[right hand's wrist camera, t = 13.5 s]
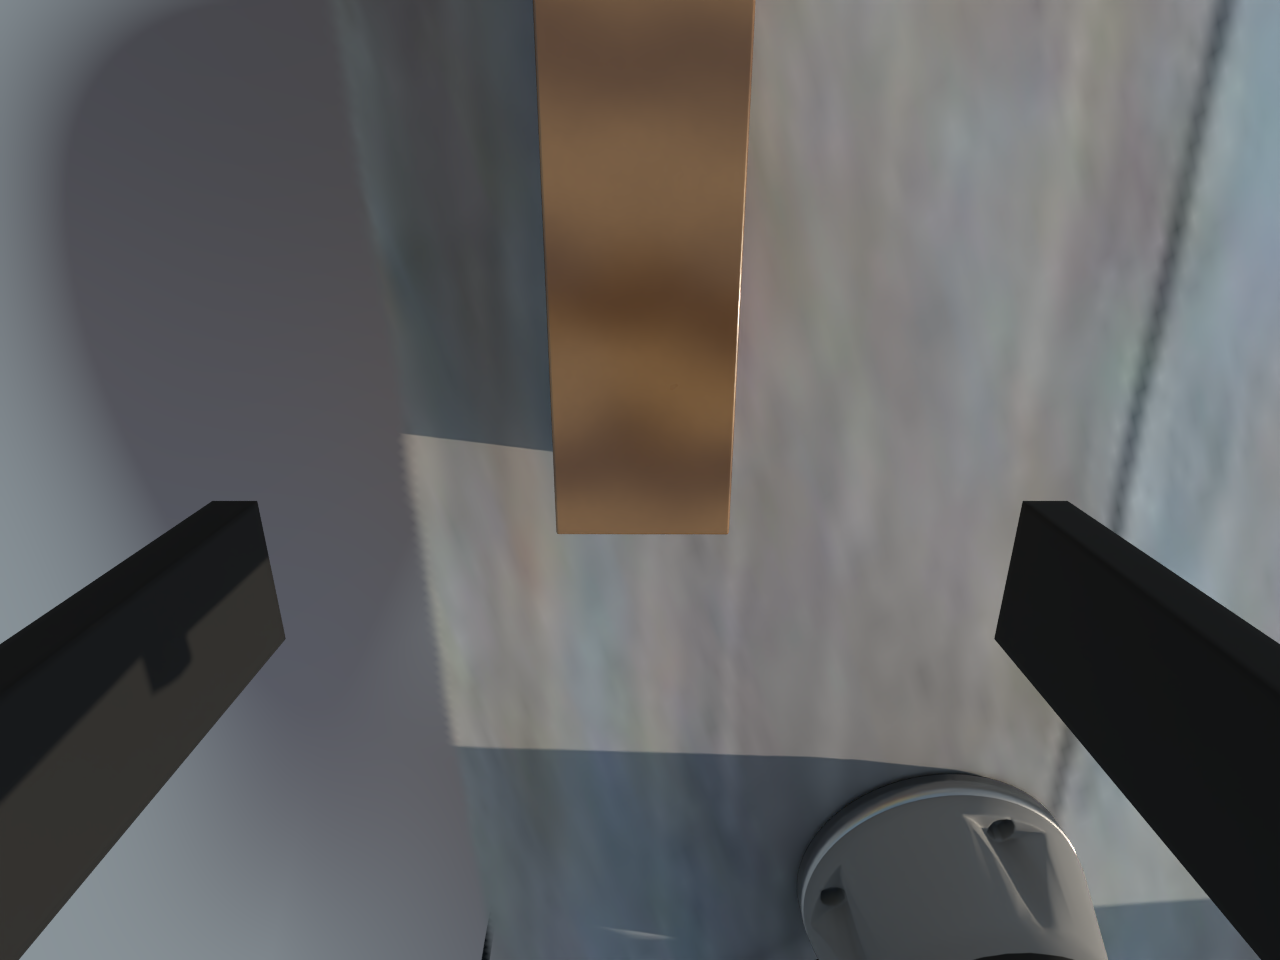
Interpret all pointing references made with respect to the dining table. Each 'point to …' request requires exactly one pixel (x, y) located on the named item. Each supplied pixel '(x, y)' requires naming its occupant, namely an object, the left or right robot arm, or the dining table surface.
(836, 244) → the dining table surface
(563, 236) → the post
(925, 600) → the dining table surface
